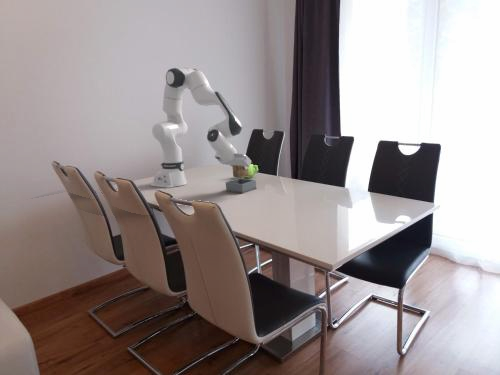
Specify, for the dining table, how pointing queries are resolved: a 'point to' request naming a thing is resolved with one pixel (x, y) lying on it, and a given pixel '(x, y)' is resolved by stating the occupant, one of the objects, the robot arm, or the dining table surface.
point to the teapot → (251, 171)
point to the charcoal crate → (241, 185)
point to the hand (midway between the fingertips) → (241, 167)
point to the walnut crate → (239, 171)
